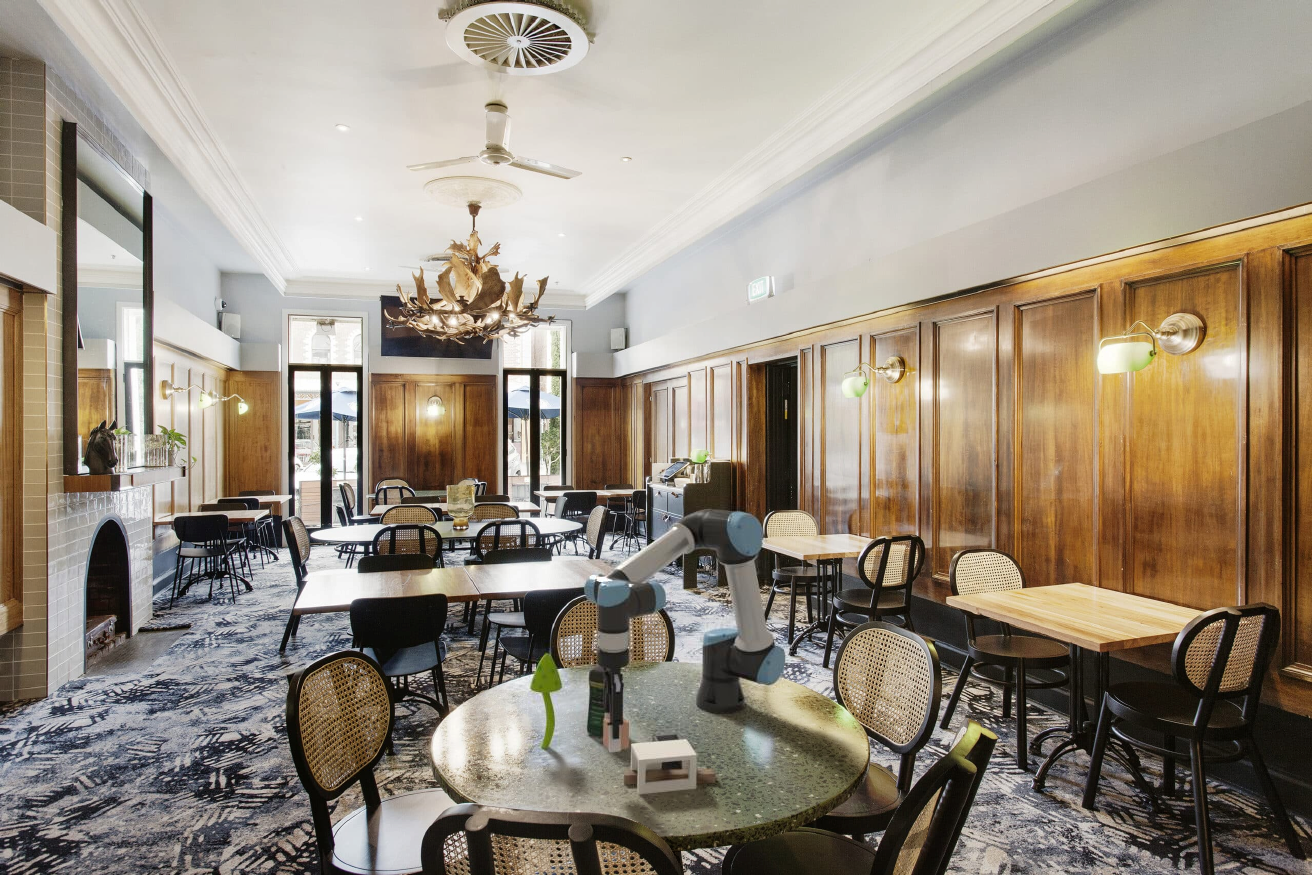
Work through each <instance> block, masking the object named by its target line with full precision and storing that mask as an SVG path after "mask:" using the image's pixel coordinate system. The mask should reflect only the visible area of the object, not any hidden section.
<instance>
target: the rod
mask: <svg viewBox="0 0 1312 875" xmlns="http://www.w3.org/2000/svg"><path fill="white" fill-rule="evenodd" d="M688 771H689V768H687V770H645V783H647V782H657V781H667V780H677V779H687V778H688ZM716 774H717V773H716V771H715V768H706V769H705V768H704V769H702V768H700V769H699V768H697V769H696V784H714V783H716V777H717V776H716ZM637 777H638V770H631V769H630V770H627V769H626V770H625V769H624V770H623V785H637Z"/></svg>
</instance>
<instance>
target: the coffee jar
mask: <svg viewBox="0 0 1312 875" xmlns="http://www.w3.org/2000/svg"><path fill="white" fill-rule="evenodd" d="M621 669H622V668H621ZM621 669H620V671H622V670H621ZM603 674H604V672H603V667H601V666H599V665H597V666H595V667H593V668H592V669H589V672H588V687H589V690H588V691H589V694H588V696H589V697H588V707H587V708H588V711H587V721H586V731H587V733H588V734H589V735H591V736H593V737H597V738H600V737H602V738H603V719H605V713H606V712H605V711H604V708H605V706H603V685H604V675H603Z"/></svg>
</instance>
